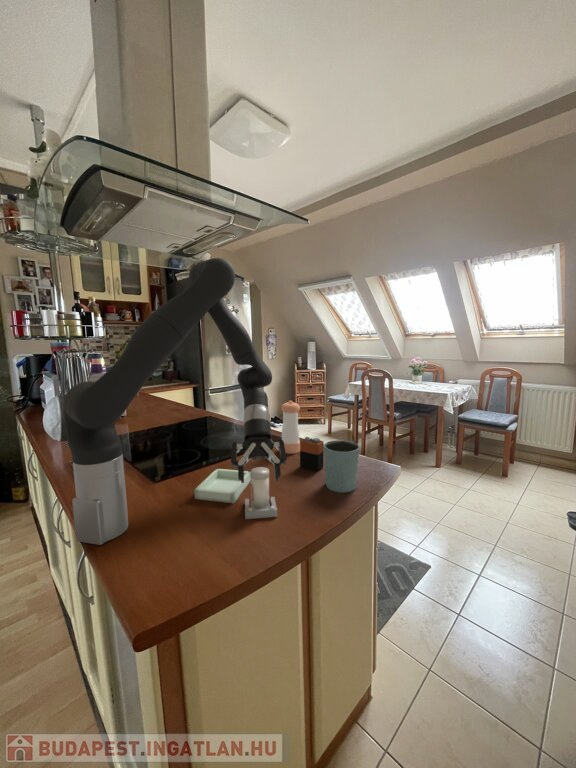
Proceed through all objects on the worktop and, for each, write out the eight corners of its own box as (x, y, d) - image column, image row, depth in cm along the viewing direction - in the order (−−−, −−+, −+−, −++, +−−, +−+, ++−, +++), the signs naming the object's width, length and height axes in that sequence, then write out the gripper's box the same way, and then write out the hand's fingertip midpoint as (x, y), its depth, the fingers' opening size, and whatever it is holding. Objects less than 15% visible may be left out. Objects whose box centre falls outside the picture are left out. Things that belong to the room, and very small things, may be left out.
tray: (233, 503, 82) (233, 493, 82) (194, 498, 84) (194, 489, 84) (251, 479, 96) (251, 471, 95) (217, 476, 98) (216, 468, 98)
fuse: (270, 512, 78) (269, 474, 76) (251, 514, 77) (250, 475, 76) (268, 503, 82) (268, 466, 81) (251, 504, 81) (250, 467, 80)
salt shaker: (277, 451, 120) (276, 401, 117) (288, 445, 125) (288, 398, 123) (292, 455, 115) (292, 403, 112) (303, 449, 121) (304, 400, 118)
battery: (317, 472, 101) (318, 441, 100) (299, 467, 105) (299, 438, 103) (323, 467, 105) (324, 438, 103) (306, 463, 108) (306, 434, 107)
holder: (277, 516, 76) (277, 507, 76) (245, 519, 75) (245, 510, 75) (274, 501, 83) (274, 492, 83) (245, 503, 82) (244, 494, 82)
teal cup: (324, 493, 87) (324, 451, 86) (322, 477, 97) (322, 439, 96) (361, 494, 87) (362, 452, 85) (355, 478, 97) (356, 440, 95)
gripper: (230, 418, 85) (230, 477, 75) (283, 416, 87) (289, 473, 77) (231, 431, 91) (231, 487, 81) (281, 429, 93) (286, 484, 83)
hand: (259, 480), depth 79 cm, fingers open, 8 cm apart
